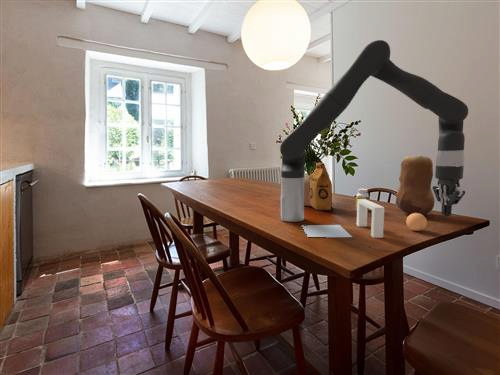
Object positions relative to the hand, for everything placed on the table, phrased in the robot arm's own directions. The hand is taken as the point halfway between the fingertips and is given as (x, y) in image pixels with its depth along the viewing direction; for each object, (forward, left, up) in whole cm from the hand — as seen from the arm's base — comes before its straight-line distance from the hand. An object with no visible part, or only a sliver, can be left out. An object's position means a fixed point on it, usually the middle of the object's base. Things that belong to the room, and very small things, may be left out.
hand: (446, 215), depth 93 cm
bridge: (-26, 0, -5) cm, 26 cm away
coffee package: (-34, +39, -5) cm, 52 cm away
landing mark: (-41, 0, -5) cm, 41 cm away
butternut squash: (+2, +23, -5) cm, 24 cm away
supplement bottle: (-16, +33, -5) cm, 37 cm away
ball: (-10, 0, -2) cm, 10 cm away
